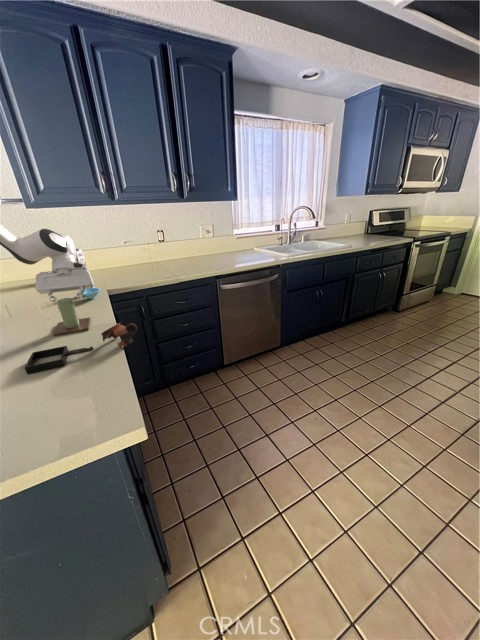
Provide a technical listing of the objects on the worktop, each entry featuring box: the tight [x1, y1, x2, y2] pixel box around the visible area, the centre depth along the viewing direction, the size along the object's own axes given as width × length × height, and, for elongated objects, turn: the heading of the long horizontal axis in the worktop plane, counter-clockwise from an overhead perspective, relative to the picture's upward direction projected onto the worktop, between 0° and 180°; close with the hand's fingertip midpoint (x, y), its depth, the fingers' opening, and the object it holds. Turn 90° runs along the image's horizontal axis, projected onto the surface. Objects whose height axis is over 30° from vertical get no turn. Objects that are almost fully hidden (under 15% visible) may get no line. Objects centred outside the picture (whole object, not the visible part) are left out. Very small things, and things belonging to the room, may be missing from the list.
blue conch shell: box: [77, 286, 101, 300], centre depth 143 cm, size 18×10×9 cm, turn 28°
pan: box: [24, 345, 95, 375], centre depth 86 cm, size 18×10×3 cm, turn 114°
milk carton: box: [75, 247, 87, 266], centre depth 180 cm, size 7×7×20 cm
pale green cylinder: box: [56, 297, 80, 328], centre depth 106 cm, size 5×5×11 cm
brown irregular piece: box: [100, 322, 138, 349], centre depth 96 cm, size 12×10×8 cm
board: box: [52, 317, 91, 337], centre depth 109 cm, size 12×12×1 cm
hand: (66, 299), depth 106 cm, fingers open, 8 cm apart
